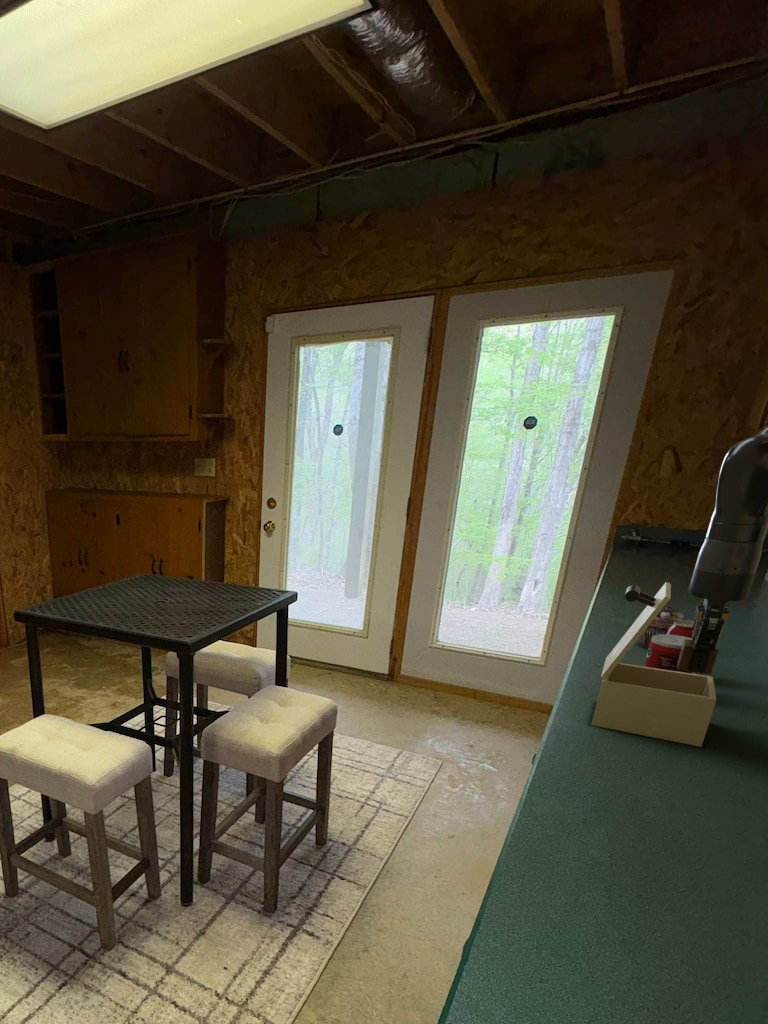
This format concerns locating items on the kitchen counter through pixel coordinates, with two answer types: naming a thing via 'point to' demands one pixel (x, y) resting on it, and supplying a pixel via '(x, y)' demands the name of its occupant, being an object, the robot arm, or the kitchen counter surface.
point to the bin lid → (637, 623)
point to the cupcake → (660, 625)
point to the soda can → (682, 629)
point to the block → (687, 652)
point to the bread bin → (656, 703)
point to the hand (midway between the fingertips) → (695, 666)
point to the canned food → (665, 652)
